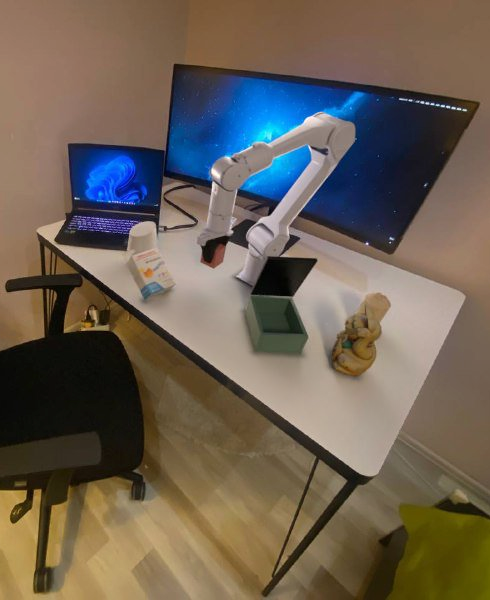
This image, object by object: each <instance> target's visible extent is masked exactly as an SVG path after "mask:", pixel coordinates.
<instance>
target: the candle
mask: <svg viewBox="0 0 490 600" xmlns="http://www.w3.org/2000/svg"><path fill="white" fill-rule="evenodd" d="M365 305H367V306H369V307H370V308H371V309H372V311H373V313H374V318H375V319H376V320H377V321H378V322H379V323H380V324H381V322H382V321H383V319H384V318H385V316H386V314H387V313H388V312H389V310H390V308H391V307H392V304H391V302H390V300H389V298H388V296H387V295H384V294H383V293H382V292H375V293H373V292H372V293H368V294H366V295H365V296H364V298H363V300H362V301H361V303H360V305H359V306H358V308H357V310H356V312H355V314H358V313H365ZM355 314H354V315H355Z"/></svg>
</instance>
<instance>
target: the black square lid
mask: <svg viewBox="0 0 490 600" xmlns="http://www.w3.org/2000/svg"><path fill="white" fill-rule="evenodd" d="M317 263H318V258H317V257H296V256H278V257H275V256H267V258H266V260H265V262H264V264H263V267H262V269H261V271H260V273H259V275H258V277H257V279H256V281H255V283H254V285H253V286H252V288H251V290H250V291H249V296H250V295H254V296H276V297H292V298H294V297H295V295H296V293H297V292H298V291H299V289H300V287H301V286H302V284H303V283H304V282H305V280H306V279H307V277H308V276H309V275H310V273H311V272H312V270H313V269H314V267H315V265H316V264H317Z"/></svg>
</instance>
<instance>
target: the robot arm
mask: <svg viewBox="0 0 490 600" xmlns="http://www.w3.org/2000/svg"><path fill="white" fill-rule="evenodd" d="M355 142H356V126H355V124H354V123H353V122H352V121H349V120H348V121H347V120H345V119H344V120H343V119H340V118H338V117H335V116H332V115H330V114H328V113H327V112H324V111H319V112H316V113H314V114H313V115H311V116H308V117H306V118H305V119H304V121H303V123H301V124H300V125H298V126H296V127H295V128H293V129H291V130H290V131H288V132H286V133H285V134H283V135H281V136H280V137H278V138H275V139H274V140H272V141H271V142H269V143H267V142H265V141H260V142H259V141H255V142H252V143H251V146H249V147H247V148H246V149H244V150H241V151H239V152H234V153H233V154H232V156H230V157H229V156H222V157H220V158H218V159H217V160H215V162H214V163H213V164H212V167H211V168H210V169H209V171H208V172H209V173H208V174H209V177H210V178H211V180H212V182H211V192H210V200H209V207H208V213H207V219H206V224H205V226H204V227H203V229H202V231H201V233H200V234H199V235H198V236H197V237H196V244H197V245H199V246H200V248H201V254H202V253H203V260H204V261H205V262H207V263H209V264H210V263H211V262H212V260H213V257H214V254H215V251H216V249H217V247H218V246H219V245H220V244H222V245H224V246H226V247H227V244H228V243H229V242H230V240H231V239H232V237H233V236H234V235H235V232H236V231H235V230H234V229H232V228H233V227H234V226H236V223H237V217H233V214H234V208H235V203H236V198H237V193H238V190H239V189H240V188H241V187H243V185H244V184H245V182H246V181H247V180H248V179H249V178H250V177H252V176H254V175H256V174H258V173H260V172H262V171H264V170H266V169H268V168H270V167H271V166H272V165H273V162H274V160H275V159H276V158H279V157H281V156H284V155H286V154H289V153H291V152H293V151H295V150H298V149H300V148H303V147H305V146H308V149H309V151H310V156H311V160H310V162H309V163H308V165H307V166H306V168H305V169H304V170H303V171H302V173H301V175H299V177H298V178H297V179H296V181H295V182H294V183H293V185H292V186H291V188H289V190H288V192H286V194H285V195H284V197H283V198H282V200H281V201H280V202H279V203H278V204H277V206H276V207H275V209H274V210H273V212H272V213H271V214H270V215H267V216H262V217H260V219H259V220H258V221H257V222H256V223H255V224H253V225H252V226H251V227H250V228H248V231H247V233H246V235H245V239H246V241H247V242H248V245H247V247H248V251H247V254H246V258H245V263H244V266H243V269H242V271H240V272H239V273H238V274H236V275H235V277H236V278H237V279H239V280H241V281H243V282H244V283H247V284H249V285H250V286H252V287H253V285H254V283H255V281H256V279H257V277H258V275H259V273H260V271H261V269H262V267H263V264H264V262H265V260H266V258H267V256H275V257H280V255H281V254H282V252H283V251H284V249H285V247H286V244H287V243H288V241H289V240H290V233H289V226H290V225H291V224H292V223H293V222H294V220H295V219H296V217H298V215H299V214H300V213H301V211H302V210H303V209H304V208H305V206H306V205H307V204H308V203H309V202H310V200H311V199H312V198H313V196H314V195H315V194H316V193H317V192H318V190H319V188H321V186H322V185H323V184H324V182H325V181H326V179H327V178H328V177H329V176H330V175H331V174H332V172H333V171H334V169H336V167H337V166H338V164H339V163H340V161H341V160H342V158H343V157H344V156H345V155H346V154H347V152H348V151H349V149H350V148H351V147H352V145H353V144H354V143H355Z"/></svg>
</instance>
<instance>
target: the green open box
mask: <svg viewBox="0 0 490 600" xmlns="http://www.w3.org/2000/svg"><path fill="white" fill-rule="evenodd" d="M244 314H245V318H246V321H247V325H248V329H249V333H250V337H251V342H252V345H253V350H254V352H255V353H273V354H274V353H275V354H292V355H293V354H297V355H301V354H302V352H303V350H304V348H305V347H306V343H307V341H308V339H309V334H308V331H307V329H306V327H305V325H304V322H303V320H302V317H301V315H300V313H299V310H298V308H297V305H296V303H295V300H294V297H283V296H261V295H250V294H249V296H248V301H247V304H246V308H245V311H244Z"/></svg>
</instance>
